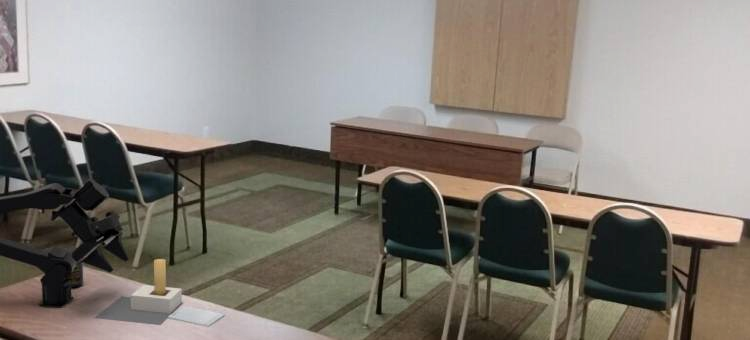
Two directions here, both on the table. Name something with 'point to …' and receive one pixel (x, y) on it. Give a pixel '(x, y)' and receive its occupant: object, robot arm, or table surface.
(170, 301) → the hole block
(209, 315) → the hard drive
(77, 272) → the supplement container
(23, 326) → the table surface
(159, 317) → the mat
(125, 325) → the table surface
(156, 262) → the peg
